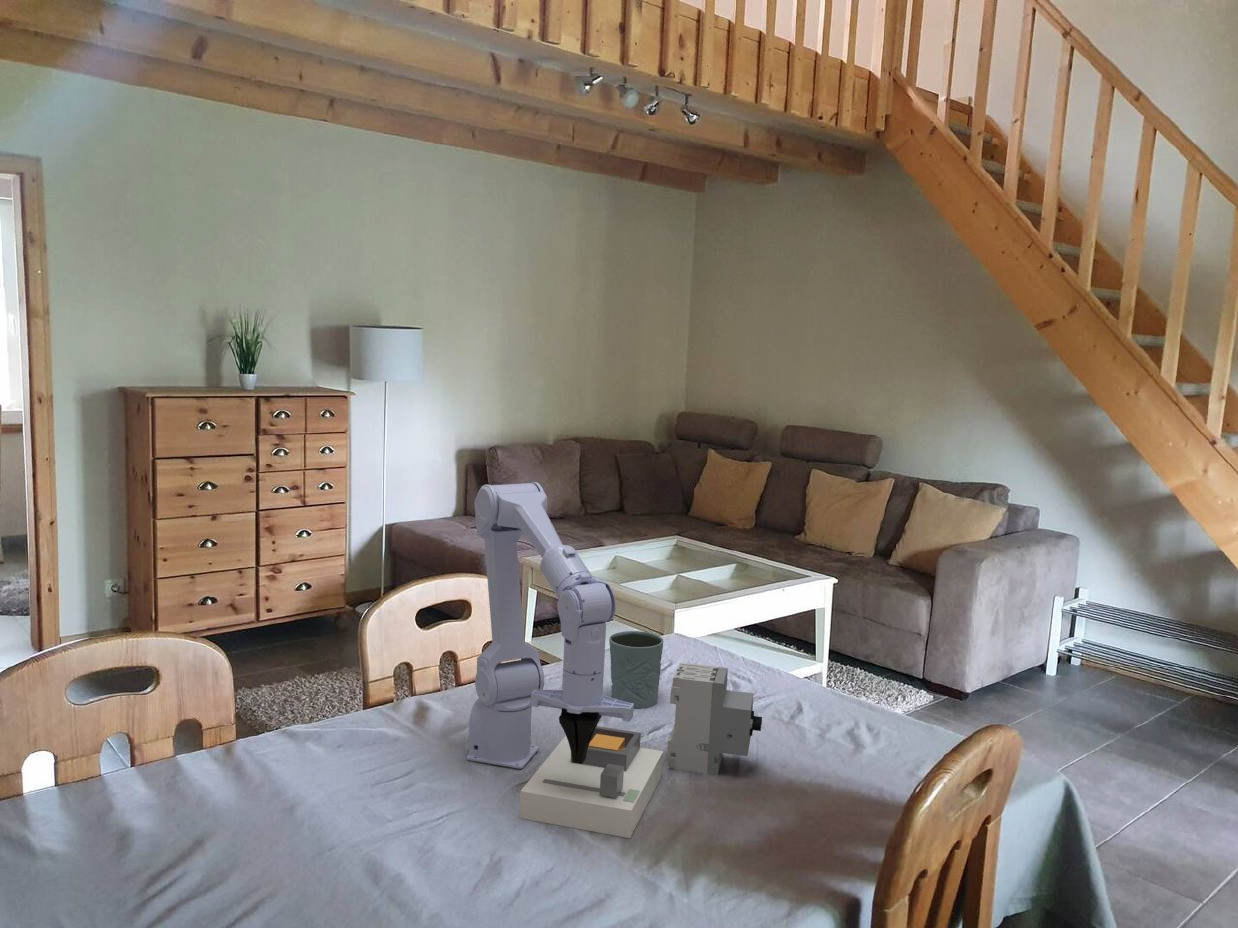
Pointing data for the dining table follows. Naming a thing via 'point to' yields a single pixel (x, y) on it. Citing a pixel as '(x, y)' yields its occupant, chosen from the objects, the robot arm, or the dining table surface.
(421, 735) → the dining table surface
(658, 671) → the green cylindrical pot
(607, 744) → the button
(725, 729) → the circuit breaker
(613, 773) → the block
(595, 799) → the slider control box
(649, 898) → the dining table surface
